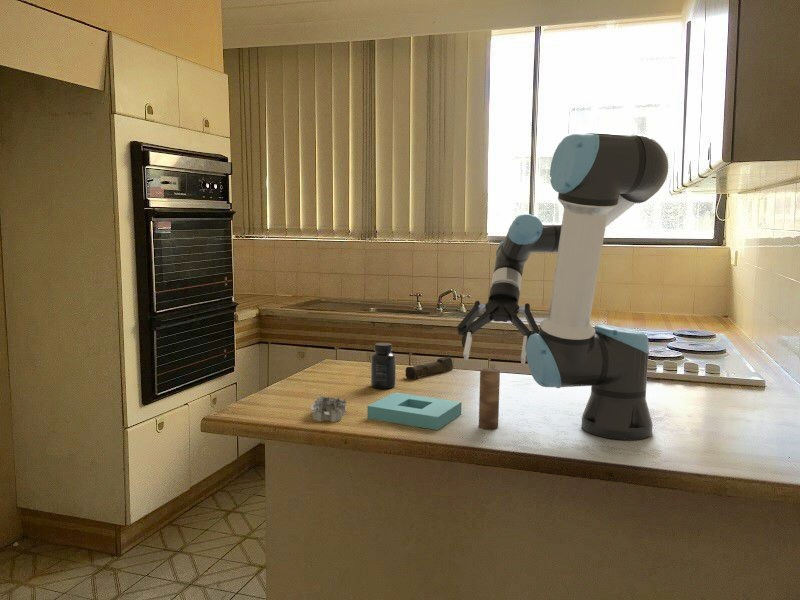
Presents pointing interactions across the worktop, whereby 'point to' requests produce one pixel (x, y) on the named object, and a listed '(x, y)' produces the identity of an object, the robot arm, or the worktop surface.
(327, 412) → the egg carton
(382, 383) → the supplement bottle
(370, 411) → the teal square-hole block
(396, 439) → the worktop surface
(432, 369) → the dark brown wooden rod
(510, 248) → the robot arm
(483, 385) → the walnut pin
